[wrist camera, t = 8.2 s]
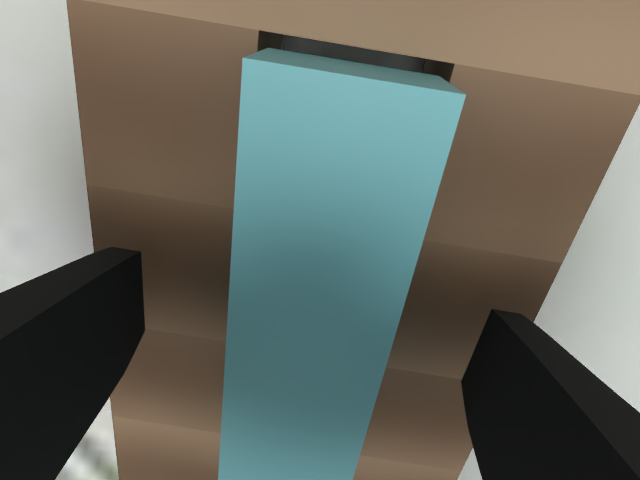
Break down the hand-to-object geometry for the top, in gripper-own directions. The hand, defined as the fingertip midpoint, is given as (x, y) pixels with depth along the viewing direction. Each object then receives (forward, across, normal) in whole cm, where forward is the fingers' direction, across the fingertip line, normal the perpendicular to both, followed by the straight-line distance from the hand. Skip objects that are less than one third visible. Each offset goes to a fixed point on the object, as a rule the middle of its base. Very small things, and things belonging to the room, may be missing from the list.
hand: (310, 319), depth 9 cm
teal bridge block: (+4, 0, 0) cm, 4 cm away
